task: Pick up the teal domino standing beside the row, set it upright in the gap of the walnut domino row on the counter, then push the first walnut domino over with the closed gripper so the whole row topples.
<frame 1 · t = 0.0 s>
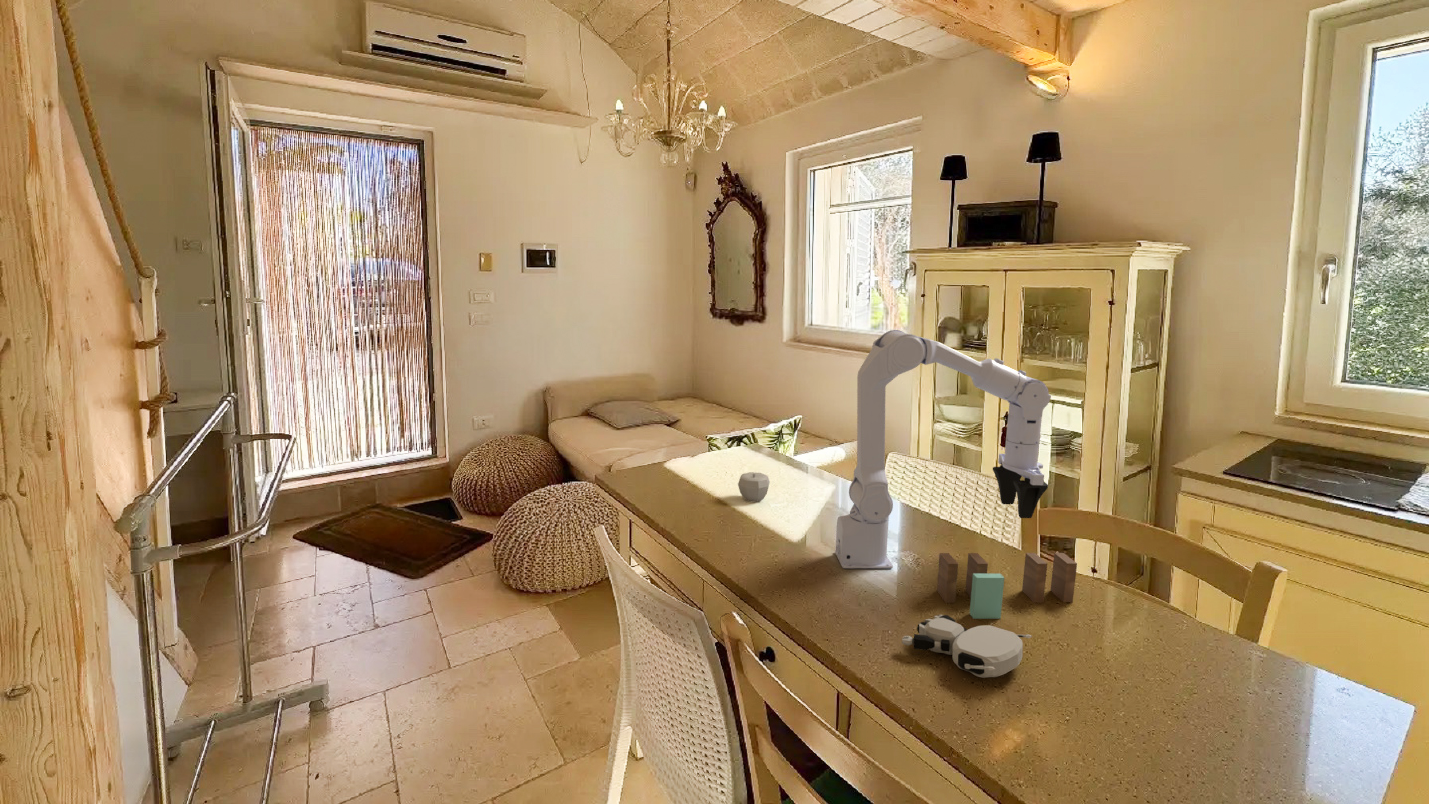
hand: (1016, 510, 132), 10 cm above the table, tool pointing down, fingers open, 7 cm apart
robot toy: (963, 660, 100), on the table
teal domino: (984, 616, 112), on the table
apple: (753, 500, 169), on the table
walnut domino 2: (974, 596, 119), on the table
walnut domino 3: (1032, 596, 119), on the table
walnut domino 1: (945, 596, 119), on the table
walnut domino 4: (1061, 596, 120), on the table
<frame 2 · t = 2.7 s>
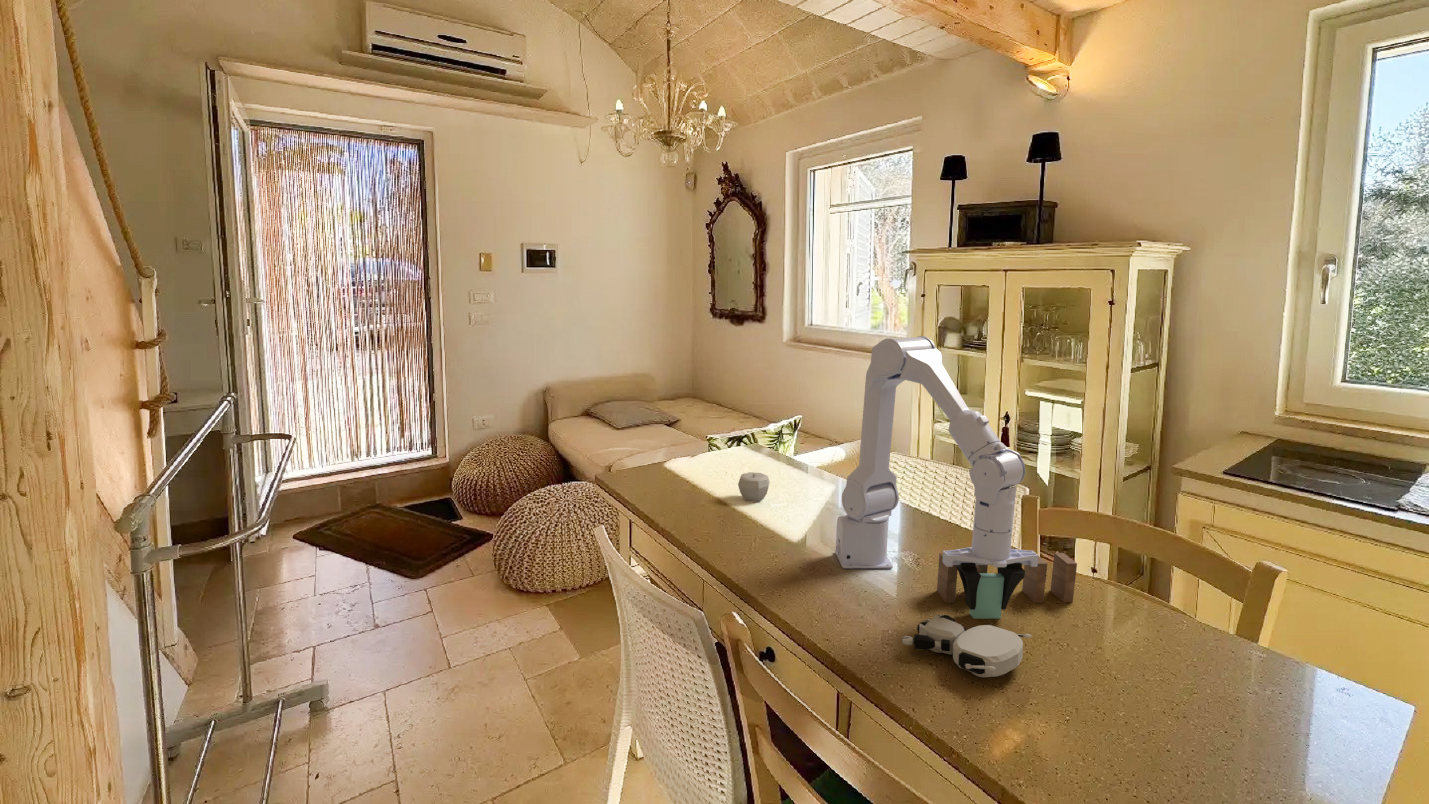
hand: (985, 606, 112), 2 cm above the table, tool pointing down, fingers closed on teal domino, 4 cm apart
teal domino: (985, 616, 112), on the table, touching gripper
everything else where it was.
when the fingers open (2 cm above the table, at t = 6.3 s): teal domino stays where it is, on the table.
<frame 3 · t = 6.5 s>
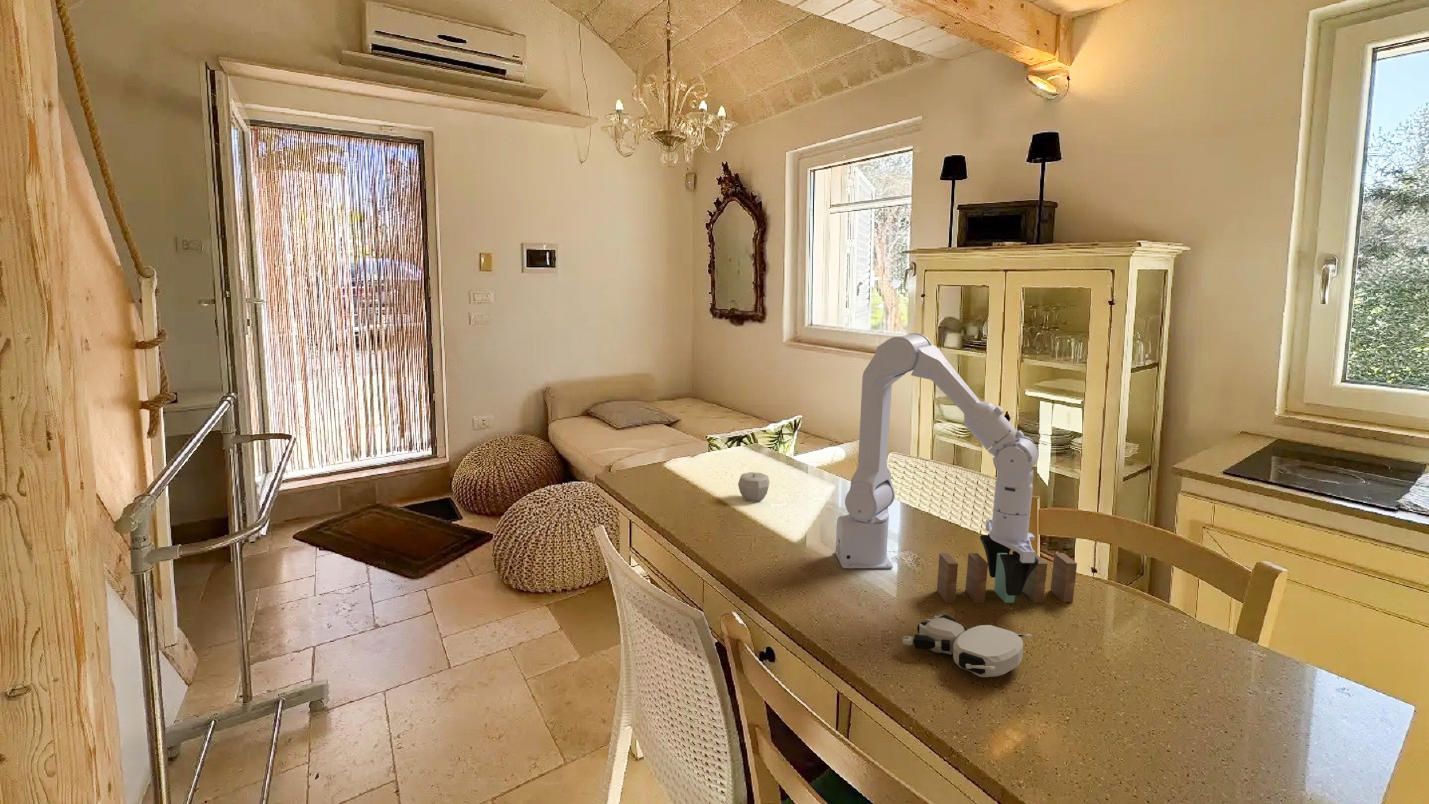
hand: (1004, 585, 119), 2 cm above the table, tool pointing down, fingers open, 6 cm apart
teal domino: (1003, 596, 119), on the table
everything else where it was.
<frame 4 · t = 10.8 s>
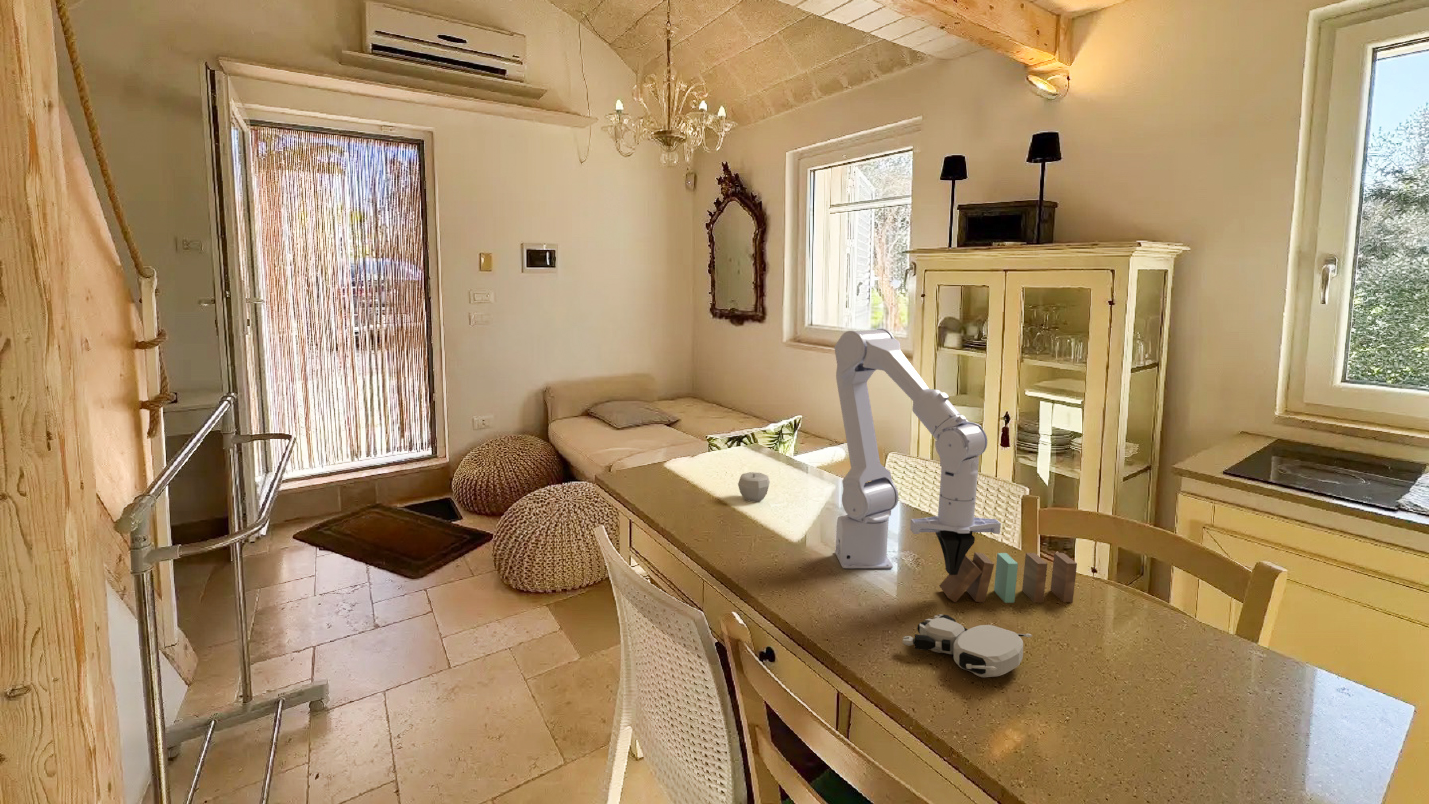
hand: (951, 572, 118), 4 cm above the table, tool pointing down, fingers closed
walnut domino 2: (974, 595, 119), on the table, tilted 9°
walnut domino 1: (947, 594, 119), on the table, tilted 37°
everything else where it was.
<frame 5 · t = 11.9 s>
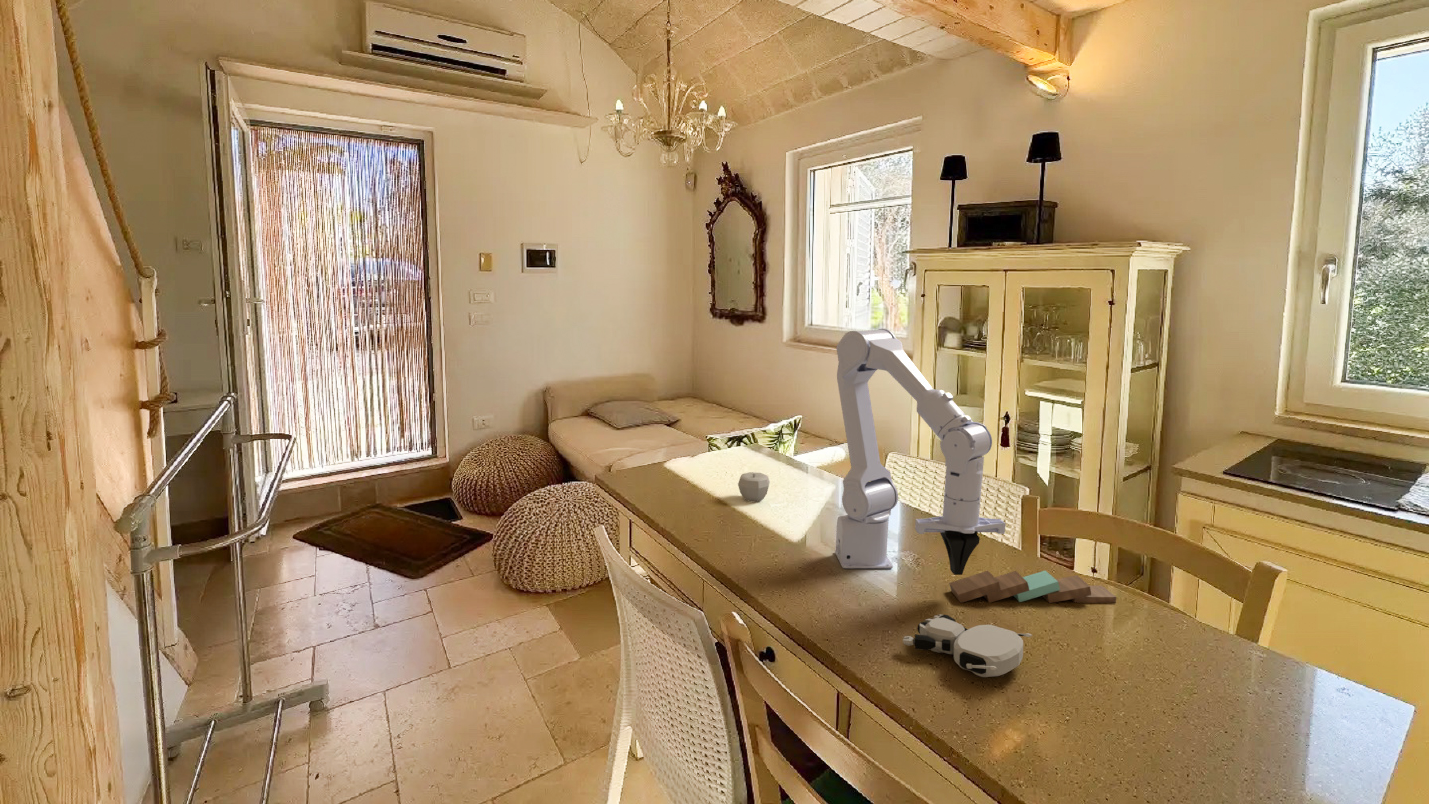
hand: (956, 572, 118), 4 cm above the table, tool pointing down, fingers closed
teal domino: (1012, 592, 119), point 1 cm above the table, tilted 71°, touching walnut domino 2, walnut domino 3
walnut domino 2: (982, 592, 119), point 1 cm above the table, tilted 71°, touching teal domino, walnut domino 1
walnut domino 3: (1042, 592, 119), point 1 cm above the table, tilted 77°, touching teal domino, walnut domino 4
walnut domino 1: (954, 592, 119), point 1 cm above the table, tilted 71°, touching walnut domino 2
walnut domino 4: (1067, 595, 119), on the table, tilted 90°, touching walnut domino 3
everything else where it was.
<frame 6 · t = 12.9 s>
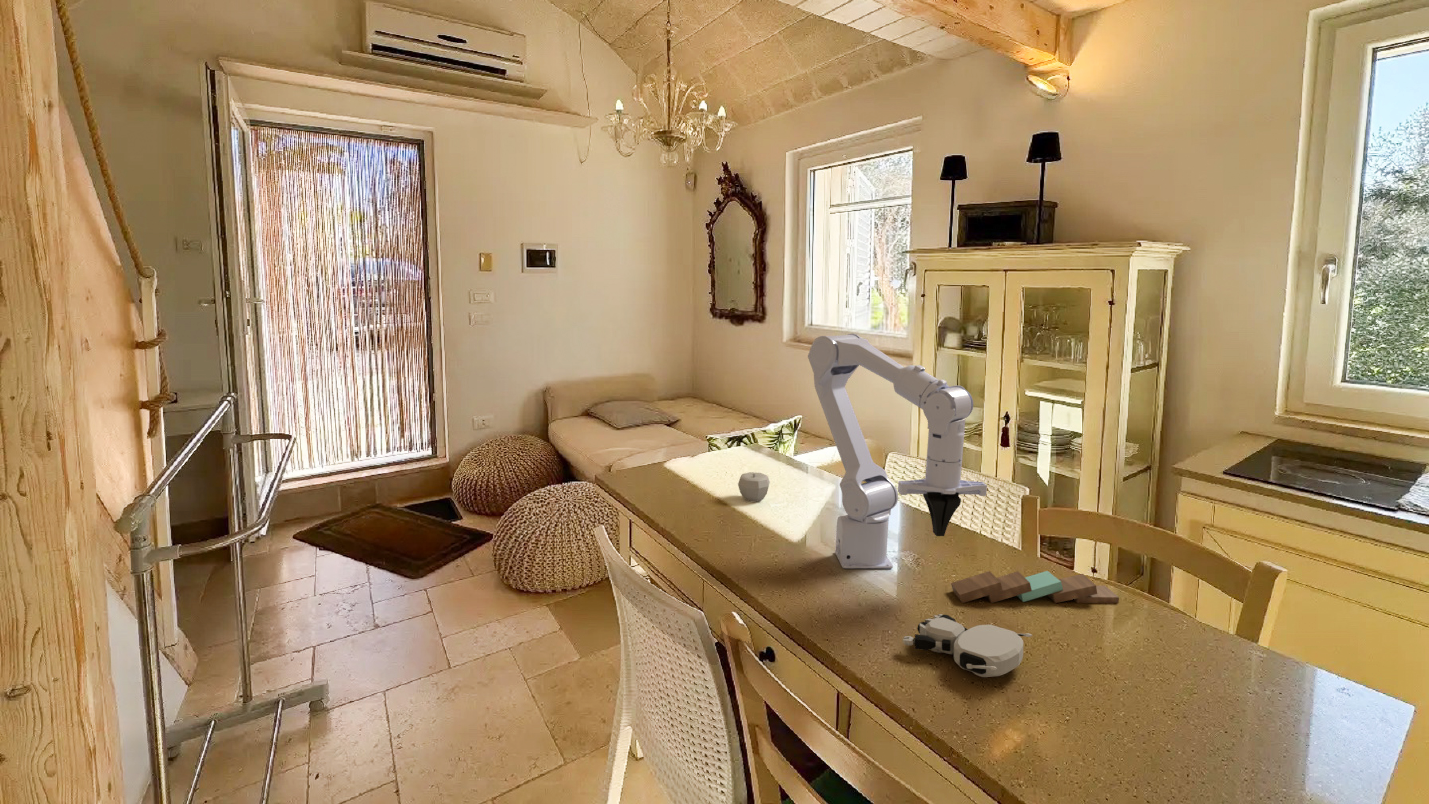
hand: (938, 534, 120), 10 cm above the table, tool pointing down, fingers closed
walnut domino 3: (1048, 592, 119), point 1 cm above the table, tilted 75°, touching teal domino
walnut domino 4: (1070, 595, 119), on the table, tilted 90°
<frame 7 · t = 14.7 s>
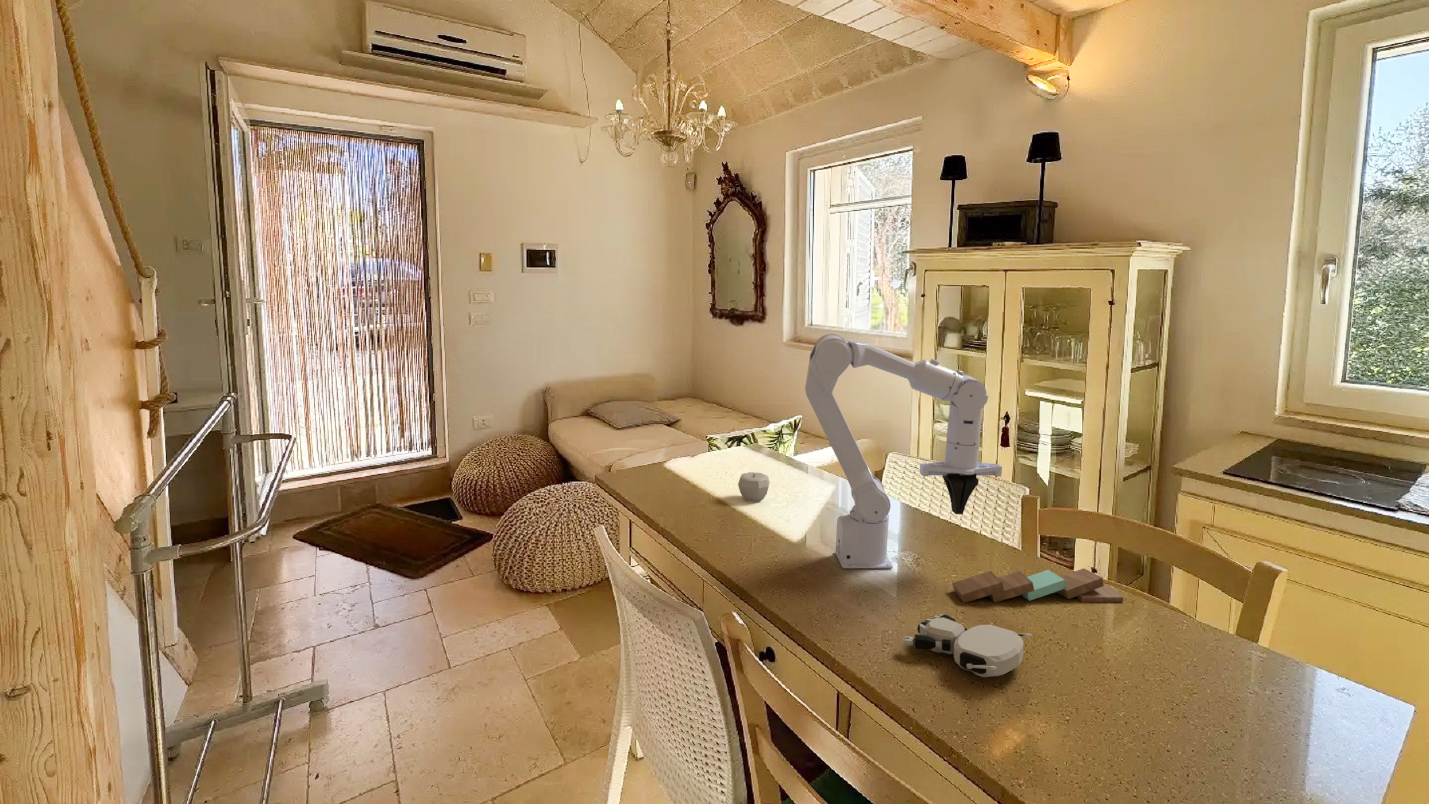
hand: (957, 512, 130), 10 cm above the table, tool pointing down, fingers closed
walnut domino 3: (1058, 589, 120), point 1 cm above the table, tilted 76°, touching teal domino, walnut domino 4
walnut domino 4: (1075, 595, 120), on the table, tilted 90°, touching walnut domino 3
at the end: walnut domino 4 tilted 90°; teal domino tilted 75°; teal domino inside the target area (1.5 cm from its centre), point 0.8 cm above the table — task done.
